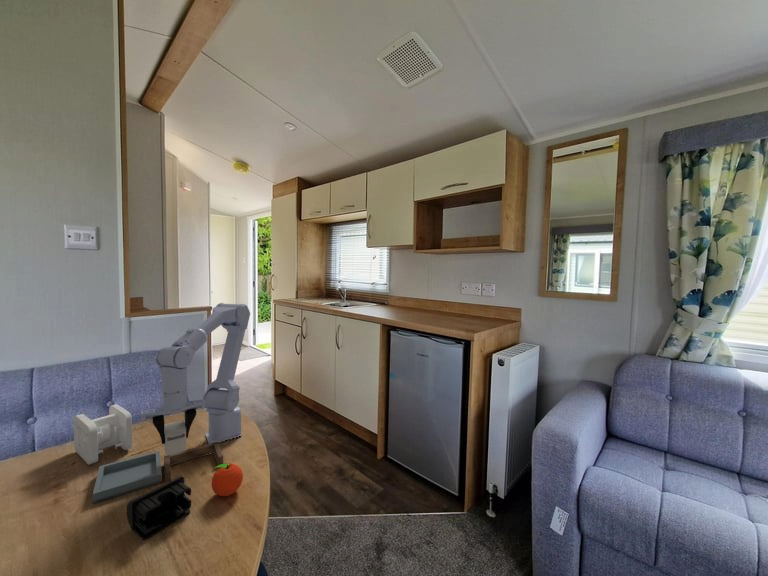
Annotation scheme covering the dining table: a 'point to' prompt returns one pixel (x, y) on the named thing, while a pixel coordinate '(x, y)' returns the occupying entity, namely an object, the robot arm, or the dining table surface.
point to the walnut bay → (191, 457)
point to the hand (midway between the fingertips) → (174, 439)
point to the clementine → (227, 479)
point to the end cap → (159, 508)
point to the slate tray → (127, 476)
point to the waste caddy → (175, 437)
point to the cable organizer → (102, 433)
